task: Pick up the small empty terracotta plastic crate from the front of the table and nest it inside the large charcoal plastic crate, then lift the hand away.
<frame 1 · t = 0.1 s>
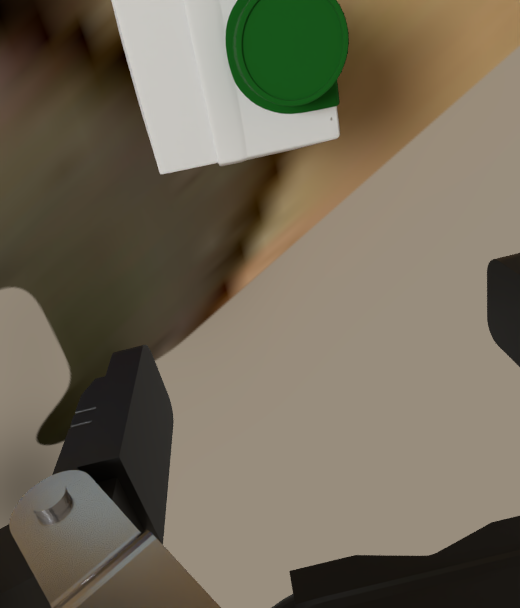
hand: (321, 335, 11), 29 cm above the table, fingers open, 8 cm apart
milk carton: (218, 58, 35), on the table
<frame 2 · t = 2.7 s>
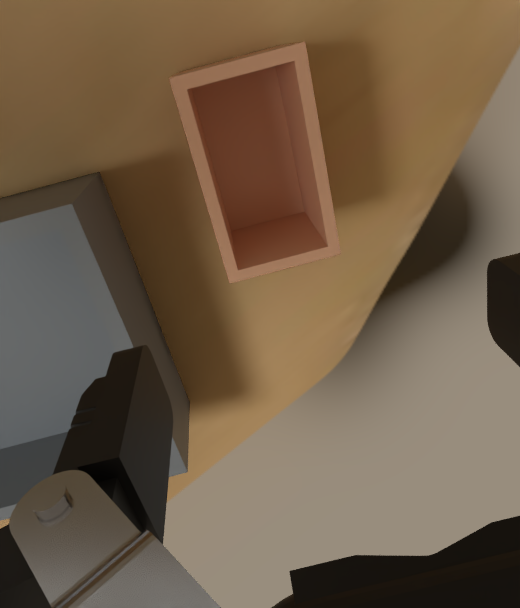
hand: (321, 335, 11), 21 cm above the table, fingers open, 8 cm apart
small crate: (250, 149, 29), on the table
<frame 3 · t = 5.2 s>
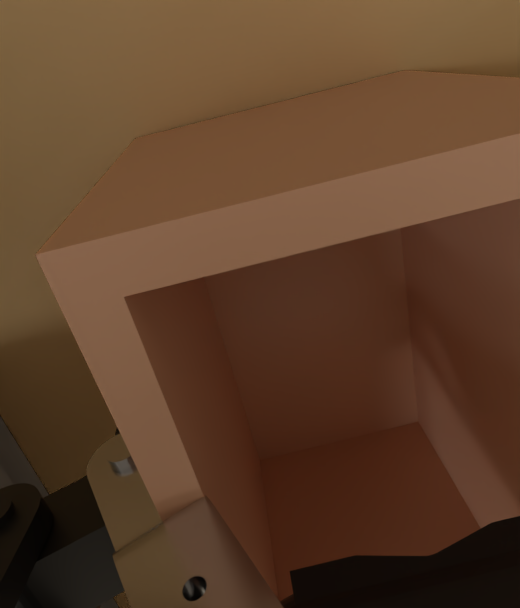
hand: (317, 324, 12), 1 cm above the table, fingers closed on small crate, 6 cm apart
small crate: (309, 303, 13), on the table, touching gripper
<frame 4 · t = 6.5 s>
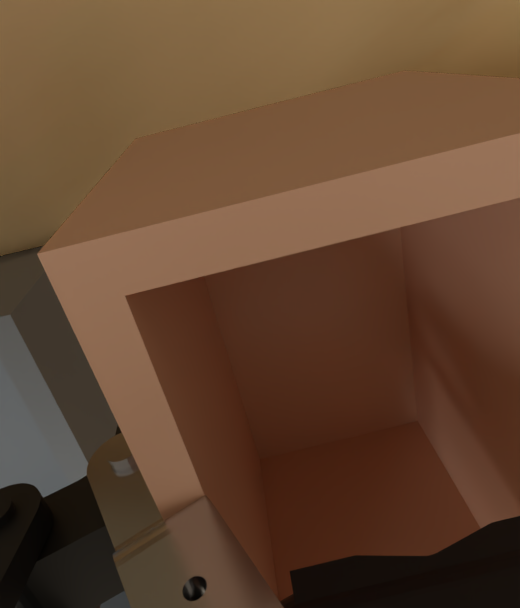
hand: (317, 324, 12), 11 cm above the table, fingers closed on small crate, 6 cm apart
small crate: (309, 302, 13), point 9 cm above the table, touching gripper
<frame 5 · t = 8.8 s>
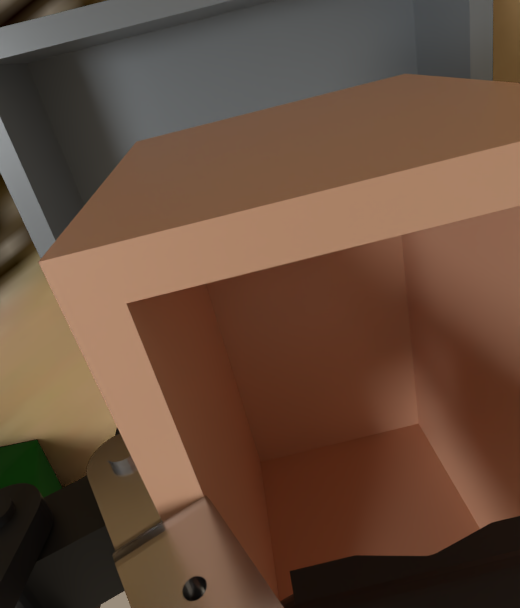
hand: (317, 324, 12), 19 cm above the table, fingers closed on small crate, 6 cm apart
big crate: (251, 167, 29), on the table
small crate: (309, 305, 13), point 18 cm above the table, touching gripper
milk carton: (10, 478, 38), on the table
when the fingers open (4 cm above the table, at t = 12.7 s): small crate drops 1 cm, resting on big crate.
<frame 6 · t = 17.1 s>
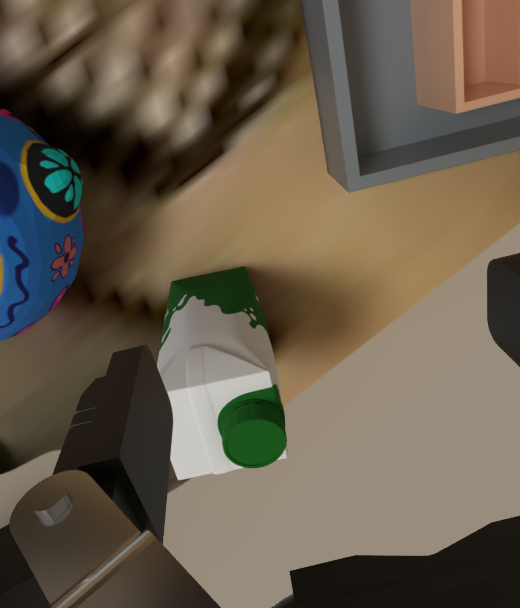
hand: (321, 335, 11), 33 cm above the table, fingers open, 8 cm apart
big crate: (445, 28, 39), on the table
small crate: (450, 28, 38), point 1 cm above the table, touching big crate
milk carton: (215, 304, 48), on the table
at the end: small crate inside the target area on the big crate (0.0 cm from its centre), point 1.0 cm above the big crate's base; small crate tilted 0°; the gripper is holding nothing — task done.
